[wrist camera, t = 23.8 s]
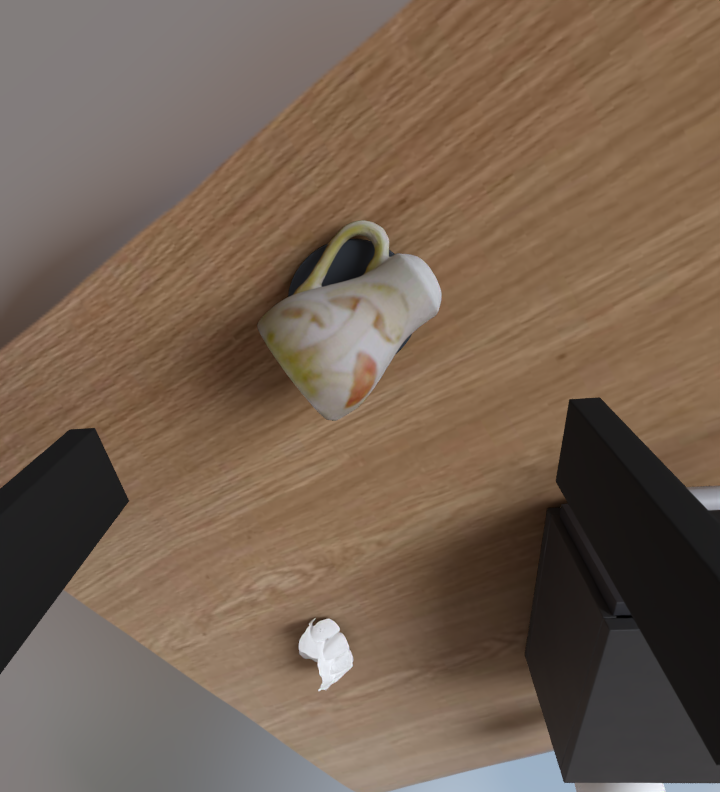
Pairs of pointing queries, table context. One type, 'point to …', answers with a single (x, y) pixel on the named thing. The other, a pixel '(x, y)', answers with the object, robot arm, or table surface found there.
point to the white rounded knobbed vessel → (619, 787)
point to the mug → (349, 323)
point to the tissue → (326, 650)
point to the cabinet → (603, 682)
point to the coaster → (339, 265)
